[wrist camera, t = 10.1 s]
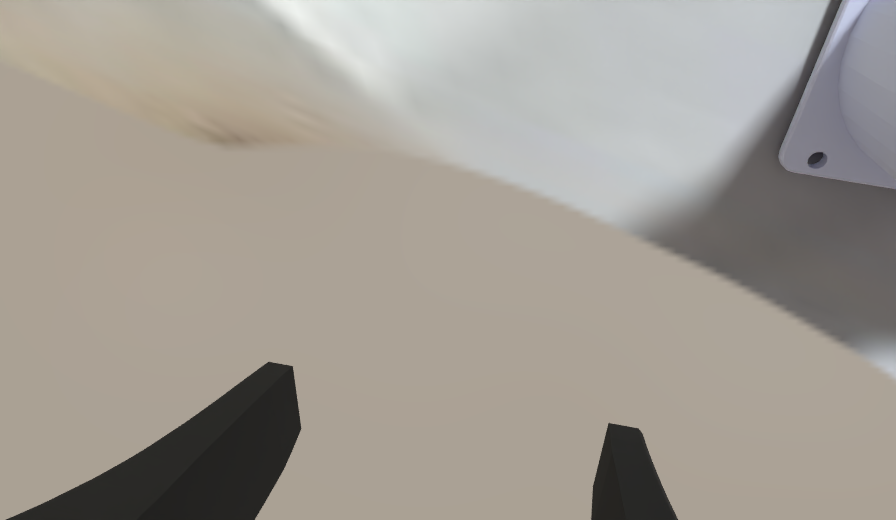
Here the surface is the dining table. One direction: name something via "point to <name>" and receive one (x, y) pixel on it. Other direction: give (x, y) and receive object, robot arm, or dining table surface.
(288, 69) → the dining table surface
